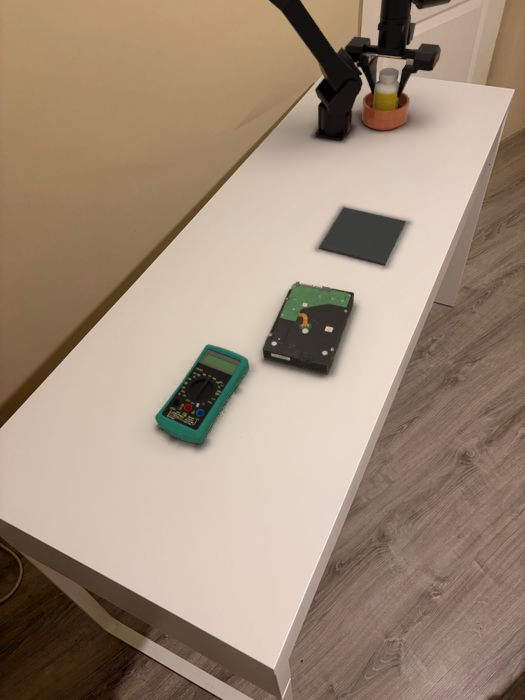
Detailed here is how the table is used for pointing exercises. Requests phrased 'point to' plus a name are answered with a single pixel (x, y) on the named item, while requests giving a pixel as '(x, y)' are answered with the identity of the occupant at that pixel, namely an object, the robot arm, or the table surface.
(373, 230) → the mat
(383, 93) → the supplement bottle
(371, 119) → the dish
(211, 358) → the digital multimeter
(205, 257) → the table surface
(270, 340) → the disk drive
